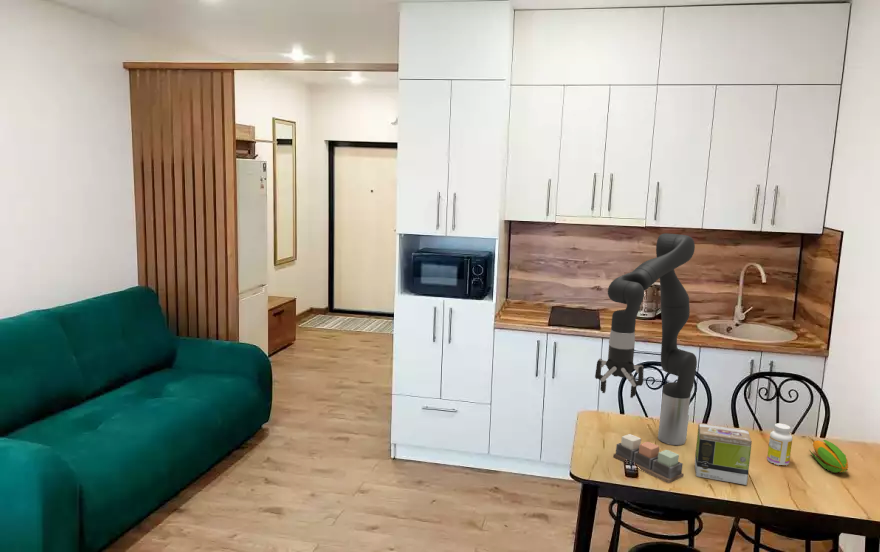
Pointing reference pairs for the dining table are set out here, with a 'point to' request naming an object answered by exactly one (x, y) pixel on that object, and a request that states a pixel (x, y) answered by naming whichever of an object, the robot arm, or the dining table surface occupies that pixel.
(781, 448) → the supplement bottle
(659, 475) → the grey button tray
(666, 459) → the button sage
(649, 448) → the button terracotta
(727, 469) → the tea box
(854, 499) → the dining table surface
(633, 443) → the button ivory
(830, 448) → the corn
